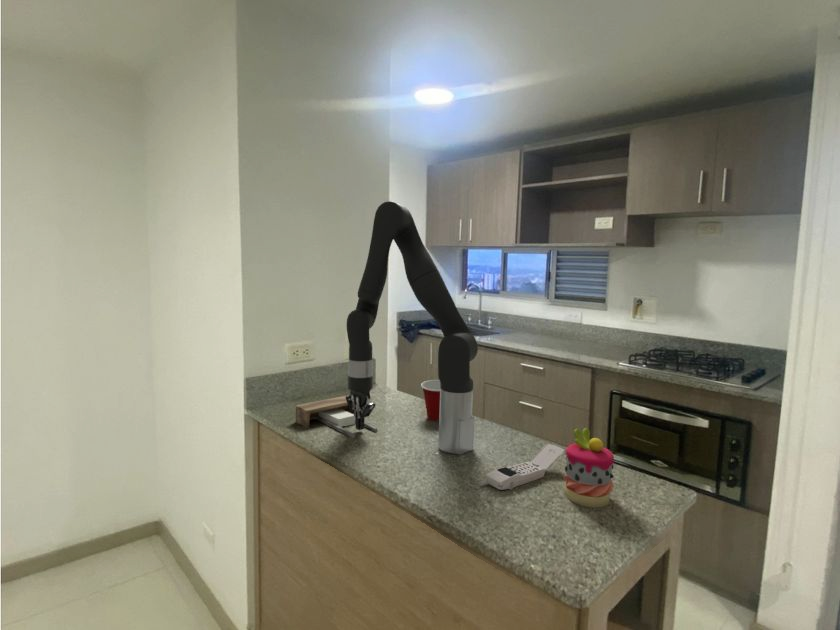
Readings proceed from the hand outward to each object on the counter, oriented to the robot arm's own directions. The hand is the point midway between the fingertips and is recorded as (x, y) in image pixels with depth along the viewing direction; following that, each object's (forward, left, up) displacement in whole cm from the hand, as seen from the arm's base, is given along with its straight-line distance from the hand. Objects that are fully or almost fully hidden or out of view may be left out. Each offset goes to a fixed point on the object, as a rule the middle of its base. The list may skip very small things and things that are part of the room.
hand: (359, 428), depth 145 cm
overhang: (+9, 0, -1) cm, 9 cm away
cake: (-66, -17, -1) cm, 68 cm away
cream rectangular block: (+13, 0, -1) cm, 13 cm away
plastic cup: (-5, -28, -1) cm, 28 cm away
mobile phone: (-51, -14, -2) cm, 53 cm away
